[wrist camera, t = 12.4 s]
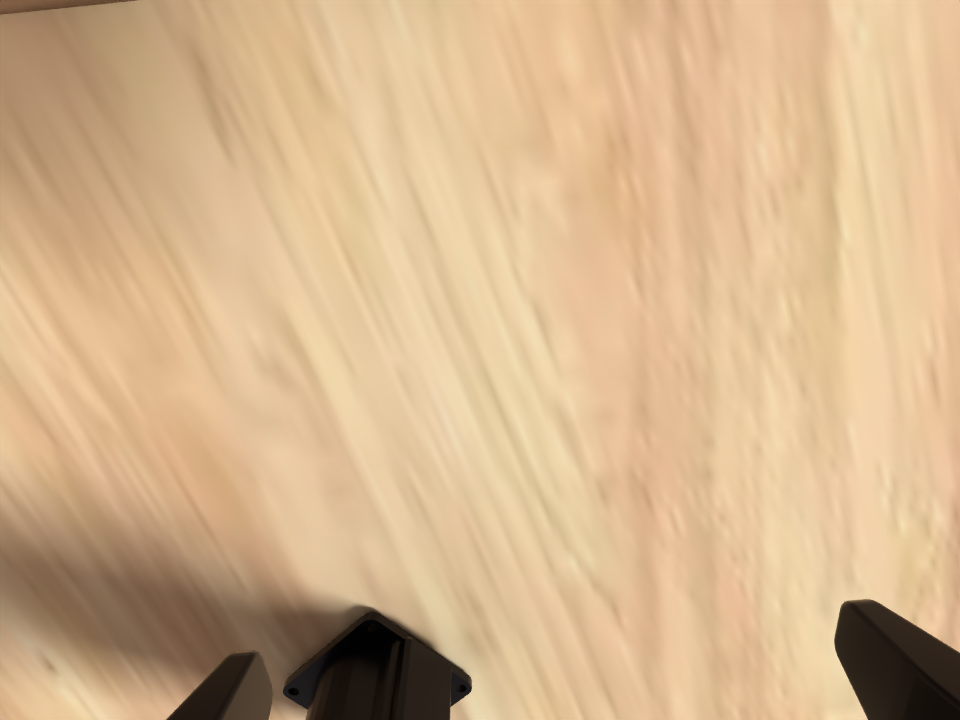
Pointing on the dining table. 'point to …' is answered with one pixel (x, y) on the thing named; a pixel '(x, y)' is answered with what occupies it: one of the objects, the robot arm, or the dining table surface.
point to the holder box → (46, 4)
